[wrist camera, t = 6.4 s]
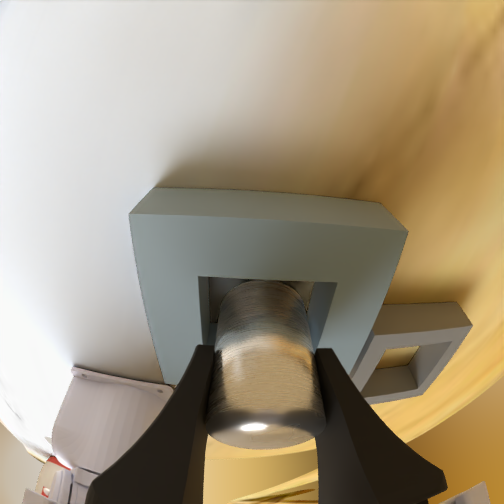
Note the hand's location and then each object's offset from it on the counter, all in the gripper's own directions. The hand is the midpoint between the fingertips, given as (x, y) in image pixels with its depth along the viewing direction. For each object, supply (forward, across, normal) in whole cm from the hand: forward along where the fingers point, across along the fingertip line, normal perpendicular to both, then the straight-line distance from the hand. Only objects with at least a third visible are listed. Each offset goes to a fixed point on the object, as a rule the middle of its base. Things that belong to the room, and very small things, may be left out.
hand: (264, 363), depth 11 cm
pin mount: (+5, -10, +5) cm, 12 cm away
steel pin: (+3, 0, 0) cm, 3 cm away
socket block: (+5, 0, 0) cm, 5 cm away
